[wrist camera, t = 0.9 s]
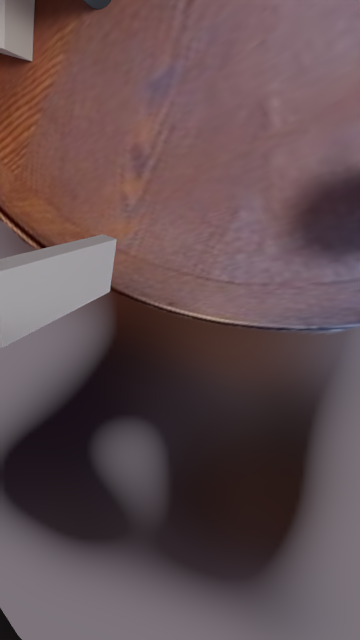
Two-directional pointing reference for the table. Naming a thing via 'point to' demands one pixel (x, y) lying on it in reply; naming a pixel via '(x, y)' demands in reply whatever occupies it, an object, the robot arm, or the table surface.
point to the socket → (17, 28)
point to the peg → (98, 3)
